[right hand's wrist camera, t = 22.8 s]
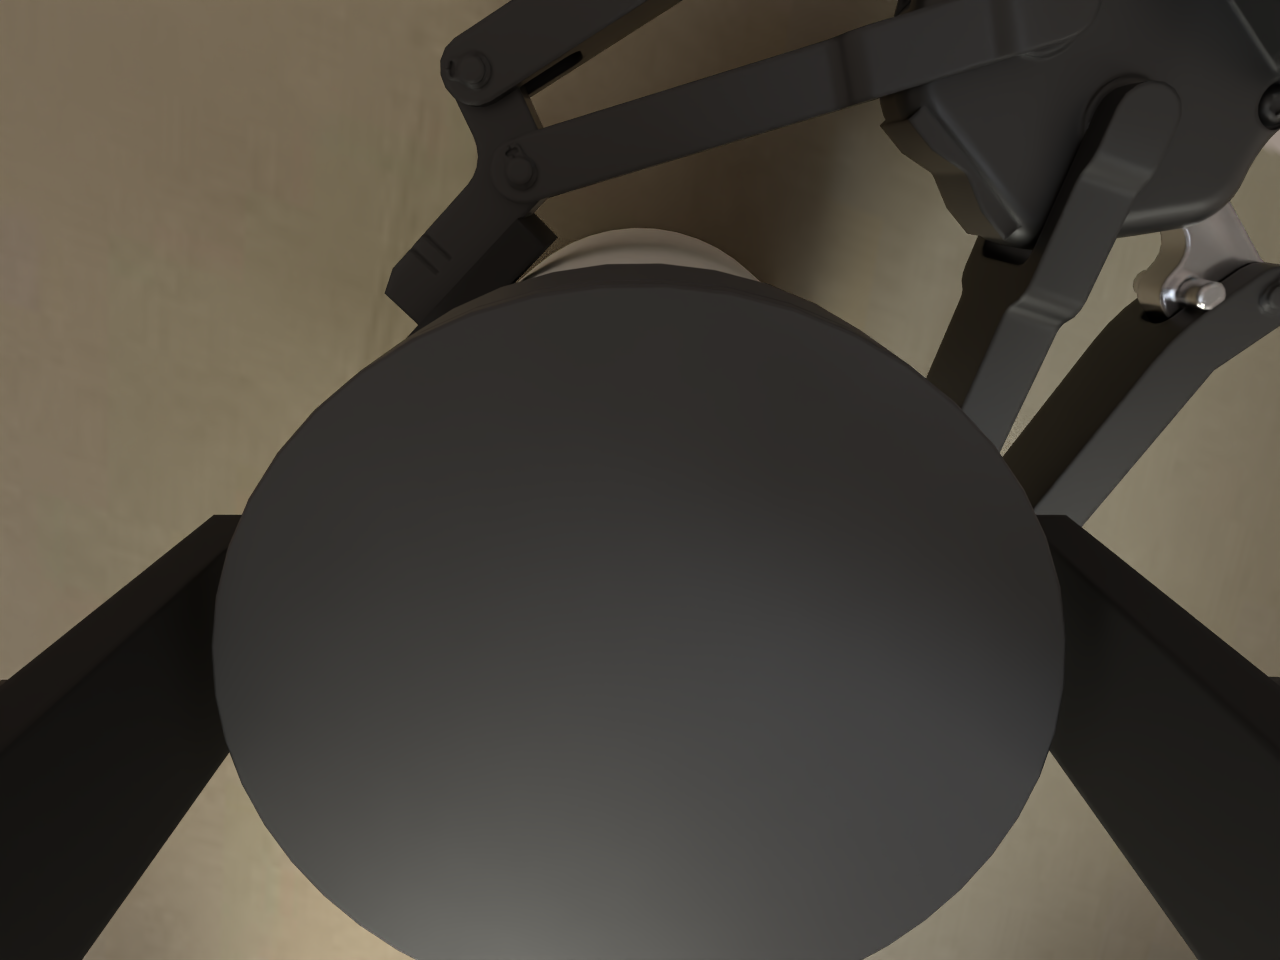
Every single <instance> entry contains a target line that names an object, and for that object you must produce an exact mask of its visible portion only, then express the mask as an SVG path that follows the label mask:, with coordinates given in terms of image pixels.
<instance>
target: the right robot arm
mask: <svg viewBox="0 0 1280 960" xmlns="http://www.w3.org/2000/svg"><path fill="white" fill-rule="evenodd" d="M241 516H242V515H213V516H212V517H211V518H209V519H208V520H207V521H206V522H204V523H203V524H202V525H201V526H199V527H198V528H197V529H196V530H194V531H193V532H192V533H191V534H189V535H188V536H187V537H186V538H184V539H183V540H182V541H181V542H179V543H178V544H177V545H176V546H174V547H173V548H172V549H171V550H169V551H168V552H167V553H166V554H164V555H163V556H162V557H161V558H159V559H158V560H157V561H156V562H154V563H153V564H152V565H151V566H149V567H148V568H147V569H146V570H144V571H143V572H142V573H141V574H139V575H138V576H137V577H136V578H134V579H133V580H132V581H131V582H129V583H128V584H127V585H126V586H124V587H123V588H122V589H121V590H119V591H118V592H117V593H116V594H114V595H113V596H112V597H111V598H109V599H108V600H107V601H106V602H104V603H103V604H102V605H101V606H99V607H98V608H97V609H96V610H94V611H93V612H92V613H91V614H89V615H88V616H87V617H86V618H84V619H83V620H82V621H81V622H79V623H78V624H77V625H76V626H74V627H73V628H72V629H71V630H69V631H68V632H67V633H66V634H64V635H63V636H62V637H61V638H59V639H58V640H57V641H56V642H54V643H53V644H52V645H51V646H49V647H48V648H47V649H46V650H45V651H43V652H42V653H41V654H40V655H38V656H37V657H36V658H35V659H33V660H32V661H31V662H30V663H28V664H27V665H26V666H25V667H23V668H22V669H21V670H20V671H18V672H17V673H16V674H15V675H13V676H12V677H11V678H10V679H8V680H1V681H0V960H82V959H83V958H84V956H85V955H86V953H87V952H88V950H89V949H90V948H91V946H92V945H93V943H94V942H95V941H96V939H97V938H98V936H99V935H100V934H101V932H102V931H103V929H104V928H105V927H106V925H107V924H108V922H109V921H110V919H111V918H112V917H113V915H114V914H115V912H116V911H117V910H118V908H119V907H120V905H121V904H122V903H123V901H124V900H125V898H126V897H127V896H128V894H129V893H130V891H131V890H132V889H133V887H134V886H135V884H136V883H137V881H138V880H139V879H140V877H141V876H142V874H143V873H144V872H145V870H146V869H147V867H148V866H149V865H150V863H151V862H152V860H153V859H154V858H155V856H156V855H157V853H158V852H159V850H160V849H161V848H162V846H163V845H164V843H165V842H166V841H167V839H168V838H169V836H170V835H171V834H172V832H173V831H174V829H175V828H176V827H177V825H178V824H179V822H180V821H181V820H182V818H183V817H184V815H185V814H186V812H187V811H188V810H189V808H190V807H191V805H192V804H193V803H194V801H195V800H196V798H197V797H198V796H199V794H200V793H201V791H202V790H203V789H204V787H205V786H206V784H207V783H208V781H209V780H210V779H211V777H212V776H213V774H214V773H215V772H216V770H217V769H218V767H219V766H220V765H221V763H222V762H223V760H224V759H225V758H226V756H227V755H228V753H229V749H228V747H227V744H226V742H225V738H224V733H223V729H222V724H221V720H220V715H219V711H218V707H217V702H216V698H215V690H214V676H213V661H212V635H213V623H214V612H215V600H216V594H217V590H218V586H219V582H220V578H221V574H222V570H223V566H224V562H225V558H226V554H227V550H228V546H229V544H230V542H231V539H232V537H233V535H234V532H235V530H236V527H237V525H238V523H239V520H240V518H241ZM1036 516H1037V518H1038V521H1039V523H1040V525H1041V527H1042V529H1043V531H1044V534H1045V536H1046V538H1047V541H1048V545H1049V549H1050V552H1051V556H1052V559H1053V563H1054V566H1055V570H1056V573H1057V577H1058V580H1059V584H1060V588H1061V597H1062V605H1063V614H1064V622H1065V631H1066V656H1065V682H1064V690H1063V695H1062V700H1061V705H1060V711H1059V716H1058V721H1057V726H1056V731H1055V734H1054V737H1053V740H1052V743H1051V746H1050V749H1049V751H1050V752H1051V753H1052V755H1053V756H1054V758H1055V759H1056V760H1057V762H1058V763H1059V765H1060V766H1061V767H1062V769H1063V770H1064V772H1065V773H1066V774H1067V776H1068V777H1069V779H1070V780H1071V781H1072V783H1073V784H1074V786H1075V787H1076V789H1077V790H1078V791H1079V793H1080V794H1081V796H1082V797H1083V798H1084V800H1085V801H1086V803H1087V804H1088V805H1089V807H1090V808H1091V810H1092V811H1093V812H1094V814H1095V815H1096V817H1097V818H1098V820H1099V821H1100V822H1101V824H1102V825H1103V827H1104V828H1105V829H1106V831H1107V832H1108V834H1109V835H1110V836H1111V838H1112V839H1113V841H1114V842H1115V843H1116V845H1117V846H1118V848H1119V849H1120V850H1121V852H1122V853H1123V855H1124V856H1125V858H1126V859H1127V860H1128V862H1129V863H1130V865H1131V866H1132V867H1133V869H1134V870H1135V872H1136V873H1137V874H1138V876H1139V877H1140V879H1141V880H1142V881H1143V883H1144V884H1145V886H1146V887H1147V889H1148V890H1149V891H1150V893H1151V894H1152V896H1153V897H1154V898H1155V900H1156V901H1157V903H1158V904H1159V905H1160V907H1161V908H1162V910H1163V911H1164V912H1165V914H1166V915H1167V917H1168V918H1169V919H1170V921H1171V922H1172V924H1173V925H1174V927H1175V928H1176V929H1177V931H1178V932H1179V934H1180V935H1181V936H1182V938H1183V939H1184V941H1185V942H1186V943H1187V945H1188V946H1189V948H1190V949H1191V950H1192V952H1193V953H1194V955H1195V956H1196V958H1197V959H1198V960H1280V677H1268V676H1267V675H1265V674H1264V673H1263V672H1262V671H1260V670H1259V669H1258V668H1257V667H1255V666H1254V665H1253V664H1252V663H1250V662H1249V661H1248V660H1247V659H1245V658H1244V657H1243V656H1242V655H1240V654H1239V653H1238V652H1237V651H1236V650H1234V649H1233V648H1232V647H1231V646H1229V645H1228V644H1227V643H1226V642H1224V641H1223V640H1222V639H1221V638H1219V637H1218V636H1217V635H1216V634H1214V633H1213V632H1212V631H1211V630H1209V629H1208V628H1207V627H1206V626H1204V625H1203V624H1202V623H1201V622H1199V621H1198V620H1197V619H1196V618H1194V617H1193V616H1192V615H1191V614H1189V613H1188V612H1187V611H1186V610H1184V609H1183V608H1182V607H1181V606H1179V605H1178V604H1177V603H1176V602H1174V601H1173V600H1172V599H1171V598H1169V597H1168V596H1167V595H1166V594H1164V593H1163V592H1162V591H1161V590H1159V589H1158V588H1157V587H1156V586H1154V585H1153V584H1152V583H1151V582H1149V581H1148V580H1147V579H1146V578H1144V577H1143V576H1142V575H1141V574H1139V573H1138V572H1137V571H1136V570H1134V569H1133V568H1132V567H1131V566H1129V565H1128V564H1127V563H1126V562H1124V561H1123V560H1122V559H1121V558H1119V557H1118V556H1117V555H1116V554H1114V553H1113V552H1112V551H1111V550H1109V549H1108V548H1107V547H1106V546H1104V545H1103V544H1102V543H1101V542H1099V541H1098V540H1097V539H1096V538H1094V537H1093V536H1092V535H1091V534H1089V533H1088V532H1087V531H1086V530H1084V529H1083V528H1082V527H1081V526H1079V525H1078V524H1077V523H1076V522H1074V521H1073V520H1072V519H1071V518H1069V517H1068V516H1067V515H1036Z"/></svg>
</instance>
